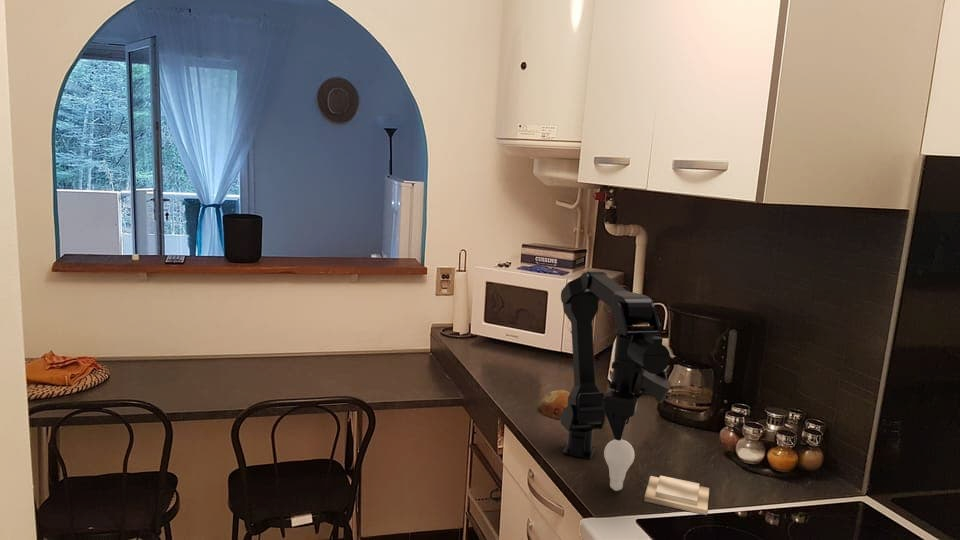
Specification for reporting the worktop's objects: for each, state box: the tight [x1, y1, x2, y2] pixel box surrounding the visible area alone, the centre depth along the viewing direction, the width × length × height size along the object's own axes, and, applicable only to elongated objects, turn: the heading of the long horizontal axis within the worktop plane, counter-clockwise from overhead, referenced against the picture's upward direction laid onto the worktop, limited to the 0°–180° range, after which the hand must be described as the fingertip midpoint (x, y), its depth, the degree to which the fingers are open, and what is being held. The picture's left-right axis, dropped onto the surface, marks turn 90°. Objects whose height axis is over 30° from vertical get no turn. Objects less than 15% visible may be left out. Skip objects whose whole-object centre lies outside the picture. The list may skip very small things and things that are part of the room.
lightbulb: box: [603, 438, 636, 492], centre depth 138 cm, size 6×6×11 cm
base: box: [643, 475, 710, 516], centre depth 138 cm, size 10×12×2 cm
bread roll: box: [540, 389, 571, 420], centre depth 181 cm, size 10×10×8 cm
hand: (621, 431), depth 137 cm, fingers open, 9 cm apart
